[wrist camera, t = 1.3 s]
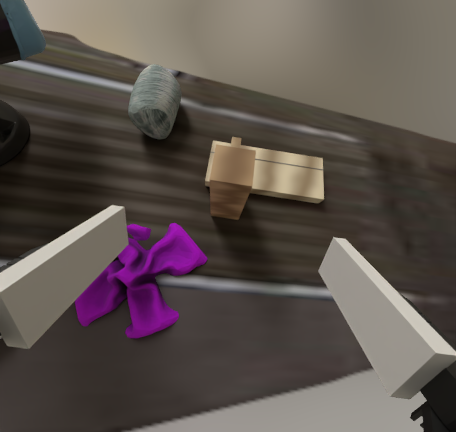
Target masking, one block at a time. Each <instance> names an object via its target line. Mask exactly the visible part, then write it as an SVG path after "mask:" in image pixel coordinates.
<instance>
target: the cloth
mask: <svg viewBox="0 0 456 432" xmlns="http://www.w3.org/2000/svg"><path fill="white" fill-rule="evenodd" d="M127 232H129V233H130V234H131V235H132V236H133V238H134V239H135V240H134V239H131V238H128V243H129V244H128V245H127V246H126V247H125V248H124V250H123V251H122V252H121V253H120V254H119V255H118V258H119V259H118V260H116V261H114V262H111V263H110V264H109V265H108V266H107V267H106V268H105V270H104V271H103V272H102V273H101V274H100V275H99V276H98V277H97V278H96V279H95V280H94V281H93V282H92V283H91V284H90V285H89V286H88V287H87V289H86V290H85V291H84V292H83V293H82V294H81V295H80V296H79V297H78V298H77V299H76V300H75V305H76V311H77V316H78V320H79V322H80V323H81V324H82V326H88V325H89V323H91V322H92V321H94V320H95V319H97V318H99V317H101V316H103V315H105V314H107V313H109V312H110V311H112V310H114V309H115V308H117V307H118V305H119V304H120V303H121V302H122V301H123V300H124V299H126V298H127V297H128V305H129V309H130V315H131V320H132V324H131V325H130V326H129V327H128V328H126V332H125V333H126V335H127V337H129V338H140V337H144V336H147V335H151V334H152V333H154V332H157V331H160V330H163V329H165V328H167V327H169V326H171V325H172V324H174V323H175V322H176V321H177V319H178V318H179V314H178V312H177V311H174V310H172V309H171V308H169V307H168V306H167V304H166V303H165V301H164V299H163V297H162V295H161V292H160V289H159V287H158V284H157V282H156V279H155V277H156V276H157V275H158V274H162V273H168V274H170V275H173V276H180V275H183V274H186V273H188V272H190V271H191V270H193V269H194V268H195V267H197V266H200V265H203V264H205V263H206V261H207V257H206V256H205V255H204V253H203V252H202V251H201V250H200V249H199V247H198V246H197V245H196V243H195V242H194V241H193V240H192V239H191V238H190V237H189V235H188V234H187V233H186V232H185V230H184V229H183V228H182V227H181V226H179V225H178V224H176V223H171V225H169V229H168V232H167V234H166V235H165V236H164V238H162V239H161V240H160V241H159V242H157V243H156V244H155V245H154V246H153V247H152V248H151V249H150V250H145V249H144V248H142V247H141V246H140V245H139V243H138V242H137V241H136V240H147V239H148V238H149V237H150V232H151V229H149V228H145V227H141V226H139V225H135V224H131V225H128V226H127Z"/></svg>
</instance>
